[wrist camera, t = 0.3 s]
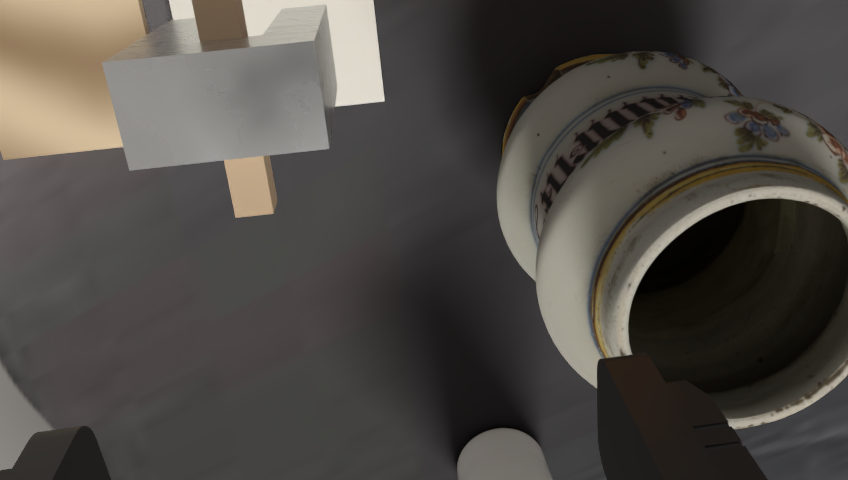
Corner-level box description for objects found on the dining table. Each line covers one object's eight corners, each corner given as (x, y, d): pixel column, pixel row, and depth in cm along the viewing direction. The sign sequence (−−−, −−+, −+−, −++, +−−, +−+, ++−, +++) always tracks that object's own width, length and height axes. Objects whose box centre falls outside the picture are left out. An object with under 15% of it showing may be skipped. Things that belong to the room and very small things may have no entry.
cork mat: (-62, -63, 34) (-69, -63, 33) (123, -82, 34) (119, -81, 34) (8, 155, 38) (3, 159, 37) (173, 138, 38) (170, 141, 38)
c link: (170, 20, 28) (101, 62, 21) (326, 4, 28) (313, 40, 21) (187, 102, 29) (129, 170, 22) (337, 86, 29) (329, 148, 22)
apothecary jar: (600, -24, 37) (795, 37, 20) (757, 136, 40) (1028, 298, 24) (430, 163, 40) (479, 349, 23) (591, 296, 44) (730, 537, 27)
